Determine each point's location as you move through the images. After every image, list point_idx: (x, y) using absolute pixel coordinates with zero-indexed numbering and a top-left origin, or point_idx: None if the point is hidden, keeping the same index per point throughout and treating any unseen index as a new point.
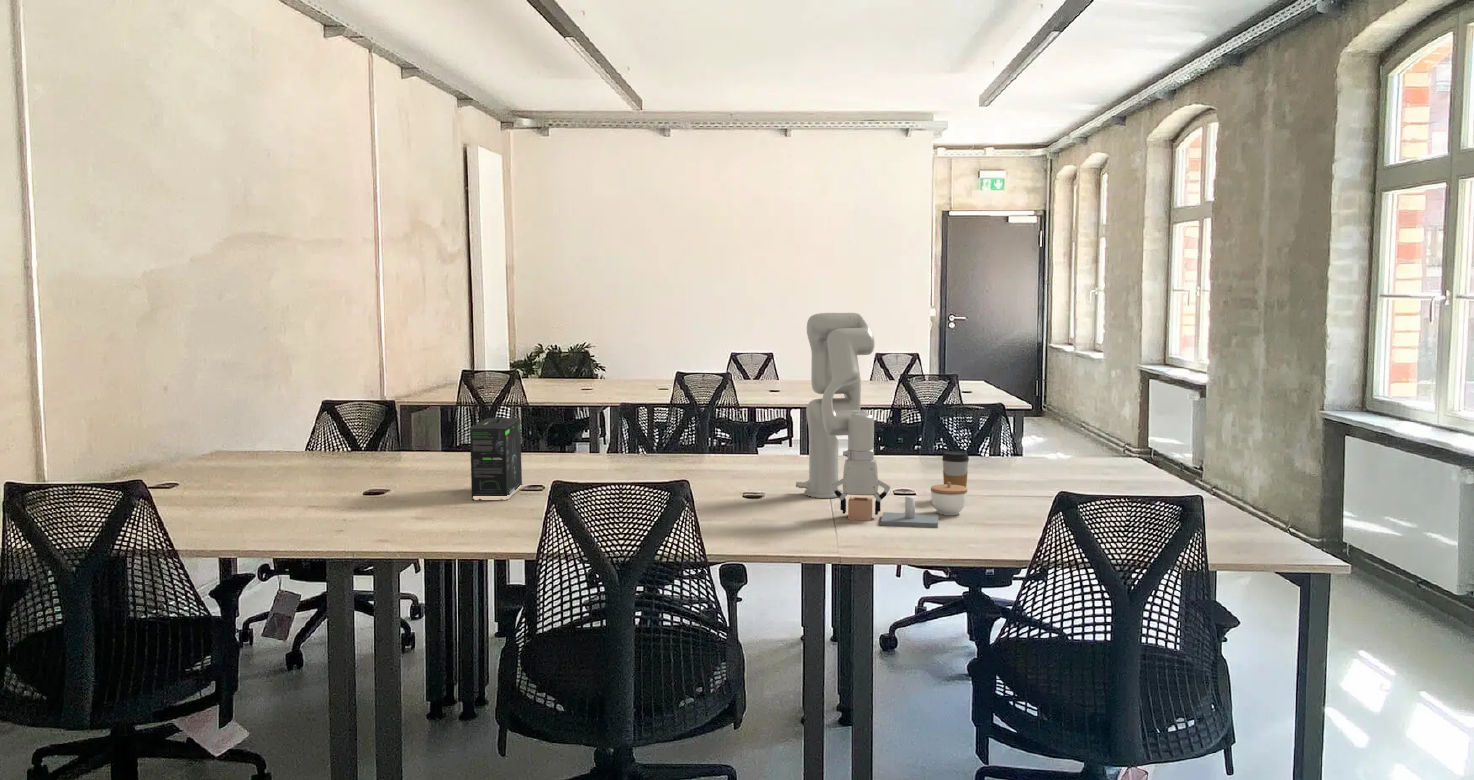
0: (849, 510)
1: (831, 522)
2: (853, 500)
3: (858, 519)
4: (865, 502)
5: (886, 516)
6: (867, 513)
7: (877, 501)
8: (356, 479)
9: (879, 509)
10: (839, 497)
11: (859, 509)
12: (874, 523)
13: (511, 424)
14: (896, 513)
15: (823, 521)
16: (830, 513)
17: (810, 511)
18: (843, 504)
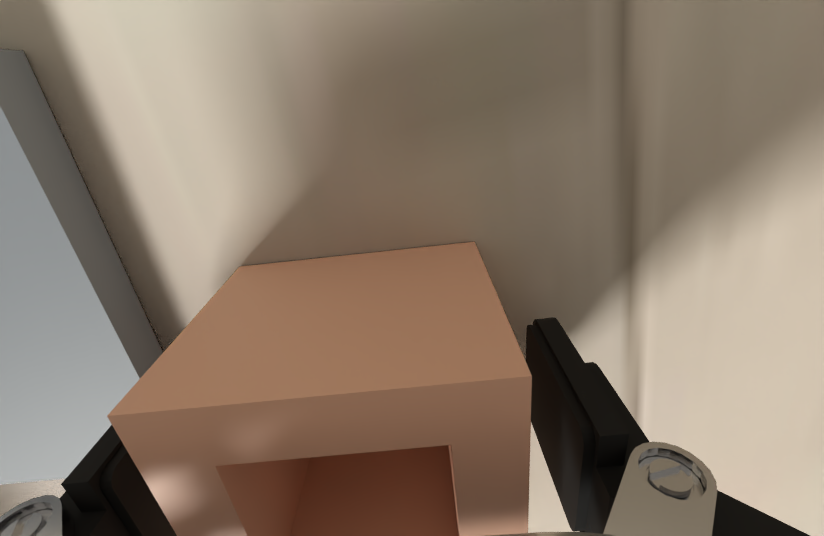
0: (476, 290)
1: (661, 38)
2: (442, 436)
3: (365, 254)
4: (214, 396)
5: (63, 325)
6: (249, 300)
7: (72, 496)
8: None
9: None
10: (708, 496)
11: (339, 313)
12: (146, 141)
13: None
14: (52, 456)
15: (760, 69)
16: (652, 422)
17: (818, 442)
18: (586, 387)
